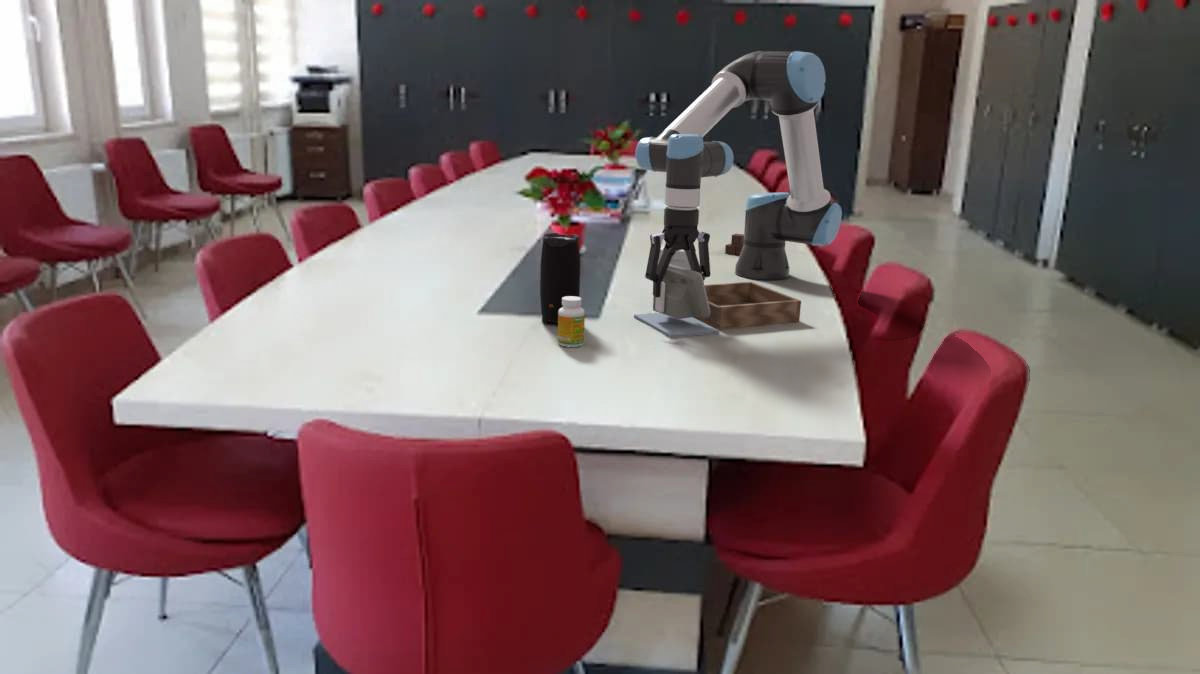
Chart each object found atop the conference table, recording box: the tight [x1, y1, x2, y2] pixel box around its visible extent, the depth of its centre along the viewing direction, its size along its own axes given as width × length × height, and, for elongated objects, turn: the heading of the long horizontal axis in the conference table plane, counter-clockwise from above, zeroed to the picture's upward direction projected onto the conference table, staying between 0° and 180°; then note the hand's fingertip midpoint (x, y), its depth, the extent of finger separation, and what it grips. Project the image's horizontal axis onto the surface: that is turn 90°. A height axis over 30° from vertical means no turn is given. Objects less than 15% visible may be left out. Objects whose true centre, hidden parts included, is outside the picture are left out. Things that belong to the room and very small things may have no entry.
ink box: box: [658, 244, 691, 270], centre depth 238 cm, size 9×9×12 cm
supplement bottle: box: [557, 296, 586, 348], centre depth 190 cm, size 5×5×10 cm
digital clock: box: [652, 262, 710, 319], centre depth 206 cm, size 16×9×11 cm, turn 24°
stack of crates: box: [724, 233, 744, 257], centre depth 295 cm, size 15×15×7 cm
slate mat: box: [633, 312, 720, 339], centre depth 208 cm, size 12×18×1 cm, turn 23°
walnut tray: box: [693, 281, 802, 330], centre depth 219 cm, size 22×21×5 cm
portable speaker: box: [539, 232, 581, 324], centre depth 205 cm, size 9×9×20 cm
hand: (676, 309), depth 208 cm, fingers closed on digital clock, 8 cm apart
